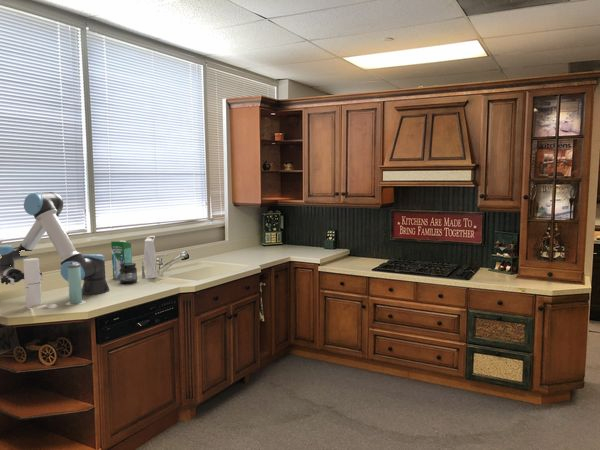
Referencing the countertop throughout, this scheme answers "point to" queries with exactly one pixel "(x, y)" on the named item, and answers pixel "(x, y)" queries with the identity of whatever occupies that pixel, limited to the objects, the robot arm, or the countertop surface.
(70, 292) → the teal tube
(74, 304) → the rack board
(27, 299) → the tall white block
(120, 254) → the milk carton
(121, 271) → the supplement container
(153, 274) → the skyscraper
